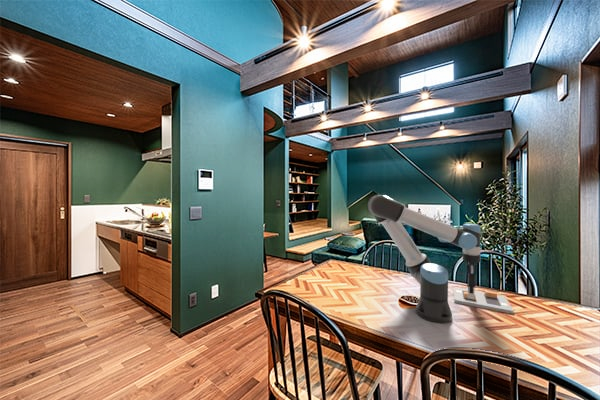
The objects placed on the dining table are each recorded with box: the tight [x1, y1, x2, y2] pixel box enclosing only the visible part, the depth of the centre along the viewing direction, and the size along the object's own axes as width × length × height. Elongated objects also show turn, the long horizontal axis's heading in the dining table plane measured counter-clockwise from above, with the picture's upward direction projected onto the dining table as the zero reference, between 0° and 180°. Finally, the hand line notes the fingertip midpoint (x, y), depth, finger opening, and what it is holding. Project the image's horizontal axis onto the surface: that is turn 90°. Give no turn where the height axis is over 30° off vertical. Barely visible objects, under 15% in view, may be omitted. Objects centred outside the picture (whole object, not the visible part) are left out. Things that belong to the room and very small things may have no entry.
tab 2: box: [484, 289, 498, 298], centre depth 131 cm, size 3×5×2 cm, turn 58°
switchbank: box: [453, 286, 515, 315], centre depth 131 cm, size 20×24×2 cm
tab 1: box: [464, 292, 476, 300], centre depth 130 cm, size 3×5×2 cm, turn 58°
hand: (471, 298), depth 126 cm, fingers closed
